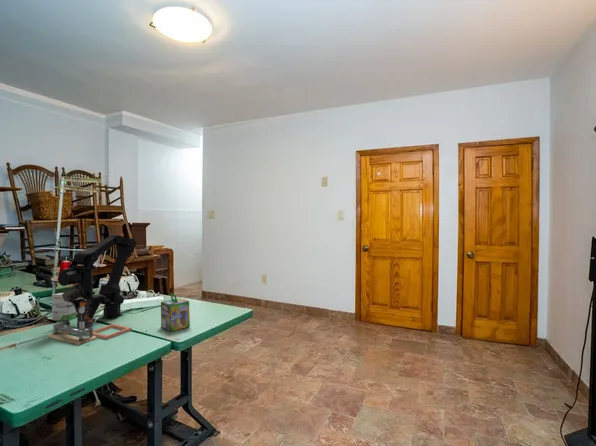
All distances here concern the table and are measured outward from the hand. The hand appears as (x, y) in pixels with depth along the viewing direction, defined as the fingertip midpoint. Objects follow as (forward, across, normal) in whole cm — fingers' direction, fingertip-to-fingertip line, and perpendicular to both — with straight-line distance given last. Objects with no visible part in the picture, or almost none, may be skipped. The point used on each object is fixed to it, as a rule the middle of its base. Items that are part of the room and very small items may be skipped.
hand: (85, 316), depth 144 cm
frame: (+4, +16, 0) cm, 17 cm away
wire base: (+4, +8, -9) cm, 13 cm away
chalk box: (+5, +35, +17) cm, 39 cm away
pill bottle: (+5, 0, 0) cm, 5 cm away
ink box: (+5, -20, +3) cm, 21 cm away
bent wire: (+4, +8, -9) cm, 13 cm away
